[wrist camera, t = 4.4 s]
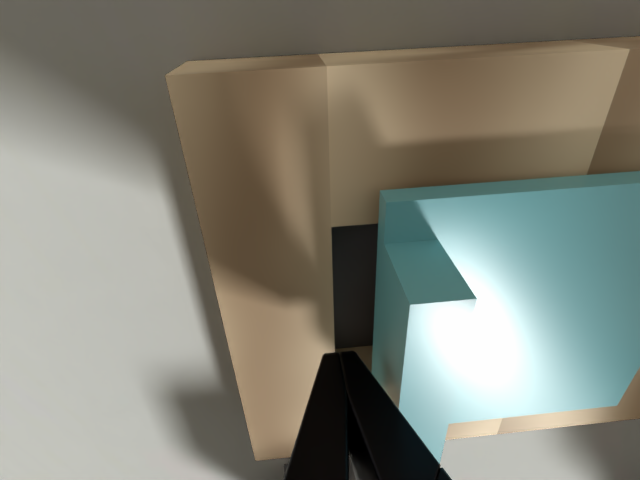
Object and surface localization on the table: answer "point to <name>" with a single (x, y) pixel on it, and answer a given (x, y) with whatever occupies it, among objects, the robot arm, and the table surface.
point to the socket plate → (374, 186)
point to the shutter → (507, 298)
